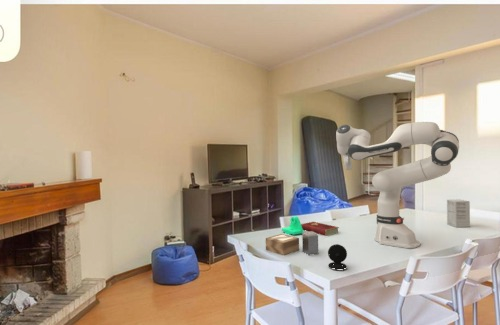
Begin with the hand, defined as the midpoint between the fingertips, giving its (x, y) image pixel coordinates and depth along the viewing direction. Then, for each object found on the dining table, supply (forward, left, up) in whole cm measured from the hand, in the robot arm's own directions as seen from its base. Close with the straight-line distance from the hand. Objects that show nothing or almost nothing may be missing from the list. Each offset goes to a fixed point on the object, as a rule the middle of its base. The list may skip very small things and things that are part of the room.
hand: (346, 162), depth 186 cm
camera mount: (+23, +25, -44) cm, 55 cm away
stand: (+5, +54, -43) cm, 70 cm away
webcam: (-28, +56, -44) cm, 76 cm away
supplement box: (-43, -66, -44) cm, 90 cm away
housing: (-8, +48, -43) cm, 65 cm away
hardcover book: (+14, +9, -44) cm, 47 cm away
